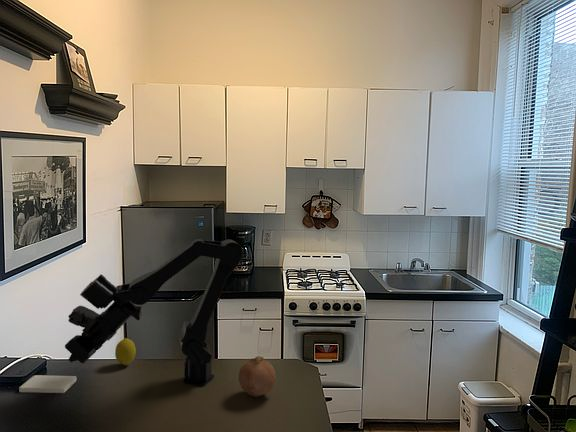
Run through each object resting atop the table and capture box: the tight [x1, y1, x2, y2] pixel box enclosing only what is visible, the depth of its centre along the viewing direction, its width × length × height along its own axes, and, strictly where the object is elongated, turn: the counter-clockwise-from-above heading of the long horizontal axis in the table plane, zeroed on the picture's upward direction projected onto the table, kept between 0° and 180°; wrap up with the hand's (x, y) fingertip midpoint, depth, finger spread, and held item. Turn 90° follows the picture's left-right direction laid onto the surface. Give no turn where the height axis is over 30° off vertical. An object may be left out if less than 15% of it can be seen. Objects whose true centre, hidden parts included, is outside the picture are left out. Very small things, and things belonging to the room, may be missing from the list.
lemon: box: [114, 337, 137, 366], centre depth 131 cm, size 6×6×8 cm
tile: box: [18, 374, 77, 394], centre depth 117 cm, size 2×7×11 cm
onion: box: [238, 355, 277, 398], centre depth 115 cm, size 10×9×10 cm
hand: (70, 360), depth 117 cm, fingers closed
